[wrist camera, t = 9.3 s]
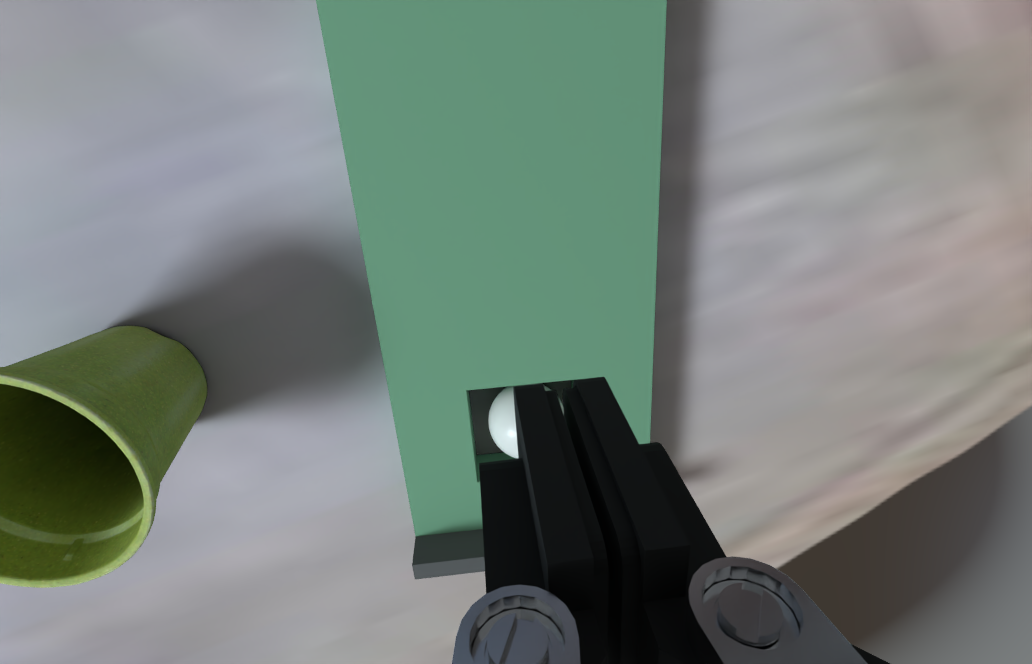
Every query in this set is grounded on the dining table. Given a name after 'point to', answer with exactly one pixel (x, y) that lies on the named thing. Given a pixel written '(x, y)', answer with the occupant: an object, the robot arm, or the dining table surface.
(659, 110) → the green
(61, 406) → the plant pot
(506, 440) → the ball
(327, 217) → the dining table surface
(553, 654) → the robot arm
